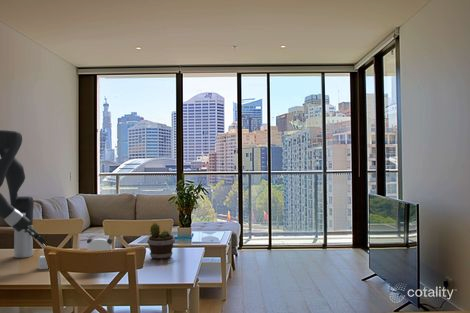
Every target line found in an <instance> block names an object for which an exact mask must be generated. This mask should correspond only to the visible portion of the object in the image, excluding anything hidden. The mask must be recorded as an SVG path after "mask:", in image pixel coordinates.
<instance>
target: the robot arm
mask: <svg viewBox="0 0 470 313" xmlns="http://www.w3.org/2000/svg"><path fill="white" fill-rule="evenodd" d="M22 143H23V134H22V133H21V132H20V131H16V130H6V129H4V130H3V129H0V188H1V187H2V186H3V184H4V181H5V180H6V184H7V188H8V193H9V202H10V203H9V202H8V201H7V199H6V197H4V195H3V194H2V193H1V192H0V218H1V219H2V220H4V221H5V223H7V225H9V226H10V227H11V228H12V229H14V232H13V233H14V235H13V236H14V237H13V238H14V239H13V240H14V241H13V242H14V245H13V249H14V251H13V257H14V258H18V259H23V258H25V259H26V258H30V257H33V253H34V252H33V251H34V250H33V247H34V246H33V245H34V244H33V243H34V242H33V241H34V240H36V241H38V242H39V243H40V244H41V245H44V244H45V243H46V240H45V239H44V238H43V237H42V236H41V235H40V234H39V233H38V231H37V230H35V228H34V226H33V225H34V221H33V220H34V206H35V205H34V203H35V201H34V197H33V196H30V195H29V196H28V195H27V196H23V195H22V196H18V193H19V191H20V188H21V187H22V185H24V182H25V179H26V174H25V169H24V166H23V165H22V163H21V162H20V161H19V160H18V159H17V158H16V155H17V154H18V152H19V150H20V148H21V147H22V146H21V145H22ZM33 238H34V240H33Z"/></svg>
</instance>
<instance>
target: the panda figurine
mask: <svg viewBox="0 0 470 313" xmlns="http://www.w3.org/2000/svg"><path fill="white" fill-rule="evenodd" d="M113 242H114V240H113V238H112V237H109V238H108V239H107V238H99V237H98V238H94V239H93V238H91V237H90V238H87V240H86V243H87V244H88V246H87V249H86V251H87V250H112V251H113V246H112V243H113Z"/></svg>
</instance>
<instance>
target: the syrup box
mask: <svg viewBox="0 0 470 313" xmlns="http://www.w3.org/2000/svg"><path fill="white" fill-rule="evenodd" d="M37 264H38V265H37V268H38V270H48V267H47V263H46V259H45V256H44V254H43V255H39V257H38V260H37Z"/></svg>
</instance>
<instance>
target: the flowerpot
mask: <svg viewBox="0 0 470 313" xmlns="http://www.w3.org/2000/svg"><path fill="white" fill-rule="evenodd" d="M149 232H150V236H149V237H148V239H147V241H146V242H147V245H149V246H148V247H149V250H150V252H149V255H150V257H151V259H152V260H154V261H155V260H156V261H165V260H170V259H171V257H172V256H173V254H174V253H173V248H174V247H173V246H174V244H175V242H176V239H175V238H174V236H173V234H170V233H169V231H168V230H166V229H165V228H164V230H162V231H161V225H159V224H158V223H157V222H156V221H153V223H152V224H151V226H150V228H149Z"/></svg>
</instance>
